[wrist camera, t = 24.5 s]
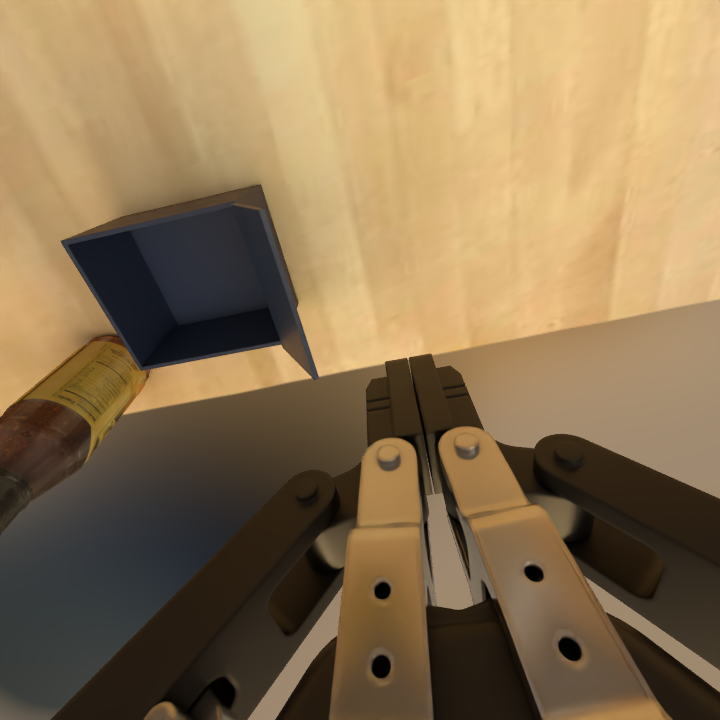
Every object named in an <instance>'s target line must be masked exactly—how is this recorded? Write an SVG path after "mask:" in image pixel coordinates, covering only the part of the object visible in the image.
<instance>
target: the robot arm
mask: <svg viewBox="0 0 720 720" xmlns="http://www.w3.org/2000/svg"><path fill="white" fill-rule="evenodd" d="M409 362H410V368H411V374H410V369H409V365H408V360H407V358H403V359H397V360H392V361H386V362H385V364H386V372H387V377H383V378H377V379H372V380H371V382H370V384H369V385H368V387H367V389H366V402H367V403H366V404H367V405H366V406H367V436H368V438H367V439H368V448H367V449H366V451H365V452H364V454H363V457H362V461H361V462H360V463H359V464H358V465H357V466H356V467H355V468H353V469H351V470H350V471H348V472H346V473H343V474H341V475H339V476H336V477H334V478H332V477H331V476H330V475H329V474H328V473H326V472H324V471H320V470H309V471H305V472H302V473H299V474H298V475H296V476H294V477H293V478H292V479H290V480H289V481H288V482H287V483H286V484H285V485H284V486H283V487H282V488H281V489H280V490H279V491H278V492H277V493H276V494H275V495H274V496H273V497H272V498H271V499H270V500H269V501H268V502H267V503H266V504H265V505H264V506H263V507H262V508H261V509H260V510H259V511H258V512H257V513H256V514H255V515H254V516H253V517H252V518H251V519H250V520H249V521H248V522H247V523H246V524H245V525H244V526H243V527H242V528H241V529H240V530H239V531H238V532H237V533H236V534H235V535H234V536H233V537H232V538H231V539H230V540H229V541H228V542H227V543H226V544H225V545H224V546H223V547H222V548H221V549H220V550H219V551H218V552H217V553H216V554H215V555H214V556H213V557H212V558H211V559H210V560H209V561H208V562H207V563H206V564H205V565H204V566H203V567H202V568H201V569H200V570H199V571H198V572H197V573H196V574H195V575H194V576H193V577H192V578H191V579H190V580H189V581H188V582H187V583H186V584H185V585H184V586H183V587H182V588H181V589H180V590H179V591H178V592H177V593H176V595H174V596H173V597H172V598H171V599H170V600H169V601H168V603H166V604H165V605H164V607H162V608H161V609H160V610H159V611H158V612H157V613H156V614H155V615H154V617H152V619H150V621H148V623H147V624H146V625H145V626H144V627H143V628H141V630H139V631H138V632H137V633H136V635H134V636H133V638H132V639H130V640H129V641H128V643H126V644H125V646H123V647H122V649H121V650H120V651H119V652H118V653H117V654H116V655H115V656H114V657H113V658H112V659H111V660H110V661H109V662H108V663H107V664H106V665H105V666H104V667H103V668H102V669H101V670H100V671H99V672H98V673H97V674H96V675H95V676H94V677H93V678H92V679H91V680H90V681H89V682H88V683H87V684H86V685H85V686H84V687H83V688H82V689H81V690H80V691H79V692H78V693H77V694H76V695H75V696H74V697H73V698H72V699H71V700H70V701H69V702H68V703H67V704H66V705H65V706H64V707H63V708H62V709H61V710H60V711H59V712H58V713H57V714H56V715H55V716H54V717H53V718H52V719H51V720H247V719H248V718H249V717H250V715H251V714H252V712H253V711H254V710H255V708H256V707H257V705H258V704H259V703H260V701H261V700H262V698H263V697H264V695H265V694H266V693H267V691H268V690H269V688H270V687H271V686H272V684H273V683H274V681H275V680H276V679H277V677H278V676H279V674H280V673H281V672H282V670H283V669H284V667H285V666H286V664H287V663H288V662H289V660H290V659H291V657H292V656H293V654H294V653H295V652H296V650H297V649H298V648H299V646H300V645H301V643H302V642H303V641H304V639H305V638H306V636H307V635H308V634H309V632H310V631H311V629H312V628H313V626H314V625H315V624H316V622H317V621H318V619H319V618H320V617H321V615H322V614H323V612H324V611H325V609H326V608H327V607H328V605H329V604H330V602H331V601H332V600H333V598H334V597H335V595H336V594H337V593H338V591H339V590H340V588H341V587H342V586H343V587H342V596H341V606H340V617H339V626H338V635H337V636H336V637H335V638H334V639H332V640H331V641H330V642H329V643H328V644H327V645H326V646H325V647H324V648H323V649H322V650H321V651H320V653H319V654H318V655H317V656H316V658H315V659H314V660H313V661H312V663H311V664H310V666H309V667H308V669H307V670H306V672H305V673H304V675H303V677H302V678H301V680H300V681H299V683H298V685H297V686H296V688H295V689H294V691H293V692H292V694H291V696H290V697H289V699H288V701H287V702H286V704H285V705H284V707H283V708H282V710H281V712H280V713H279V715H278V716H277V718H276V719H275V720H720V692H718V691H717V690H716V689H714V688H713V687H712V686H710V685H709V684H708V683H707V682H705V681H704V680H703V679H701V678H700V677H699V676H697V675H696V674H695V673H693V672H692V671H691V670H689V669H688V668H687V667H685V666H684V665H683V664H681V663H680V662H679V661H678V660H676V659H675V658H674V657H672V656H671V655H670V654H668V653H667V652H666V651H664V650H663V649H662V648H661V647H659V646H658V645H656V644H655V643H654V642H653V641H651V640H650V639H649V638H647V637H646V636H645V635H643V634H642V633H640V632H639V631H638V630H636V629H635V628H633V627H631V626H630V625H628V624H627V623H625V622H623V621H622V620H620V619H618V618H616V617H614V616H612V615H610V614H608V613H606V612H605V611H604V609H603V608H602V606H601V604H600V602H599V601H598V599H597V598H596V596H595V594H594V592H593V591H592V589H591V587H590V586H589V584H588V582H587V580H586V579H585V577H587V578H588V579H590V580H591V581H592V582H594V583H595V584H597V585H598V586H600V587H601V588H603V589H604V590H605V591H607V592H608V593H610V594H611V595H613V596H614V597H616V598H617V599H618V600H620V601H621V602H623V603H624V604H626V605H627V606H628V607H630V608H631V609H633V610H634V611H636V612H637V613H639V614H640V615H642V616H643V617H645V618H646V619H647V620H648V621H650V622H651V623H653V624H654V625H656V626H657V627H659V628H660V629H661V630H663V631H664V632H666V633H667V634H669V635H670V636H671V637H673V638H674V639H676V640H677V641H679V642H680V643H682V644H683V645H684V646H686V647H687V648H689V649H690V650H692V651H693V652H695V653H696V654H697V655H699V656H700V657H702V658H703V659H705V660H706V661H708V662H709V663H711V664H712V665H713V666H715V667H716V668H718V669H719V670H720V499H719V498H717V497H714V496H712V495H710V494H708V493H705V492H703V491H701V490H699V489H696V488H693V487H692V486H689V485H687V484H685V483H682V482H680V481H678V480H676V479H674V478H671V477H669V476H667V475H665V474H662V473H660V472H658V471H656V470H653V469H651V468H649V467H647V466H644V465H642V464H640V463H637V462H635V461H633V460H631V459H628V458H626V457H624V456H622V455H619V454H617V453H614V452H612V451H610V450H608V449H605V448H603V447H601V446H599V445H597V444H594V443H592V442H590V441H588V440H585V439H583V438H580V437H577V436H573V435H568V434H555V435H550V436H547V437H545V438H543V439H541V440H540V441H539V442H538V443H537V444H536V446H535V449H533V448H523V447H514V446H509V445H505V444H502V443H500V442H498V441H495V440H494V439H493V437H492V436H491V435H490V434H489V433H487V432H486V431H485V430H484V428H483V426H482V424H481V421H480V419H479V417H478V414H477V412H476V409H475V407H474V405H473V402H472V400H471V397H470V395H469V393H468V390H467V388H466V387H465V383H464V381H463V378H462V376H461V374H460V373H459V372H458V371H456V370H455V369H454V368H453V367H451V366H446V367H440V368H436V367H435V364H434V361H433V358H432V355H431V354H425V355H420V356H414V357H409ZM411 375H412V379H411ZM412 381H413V384H412ZM413 387H414V388H413ZM425 448H426V449H425ZM426 453H427V455H426ZM427 458H428V461H427ZM428 463H429V467H430V472H431V476H432V481H433V486H434V491H435V494H438V493H443V495H444V499H445V504H446V510H447V517H448V522H449V525H450V528H451V531H452V534H453V537H454V540H455V544H456V547H457V550H458V553H459V556H460V559H461V562H462V566H463V568H464V572H465V575H466V578H467V581H468V584H469V588H470V592H471V595H472V600H473V606H471V607H468V608H466V609H463V610H454V609H449V608H443V607H437V604H436V597H435V588H434V577H433V567H432V556H431V546H430V536H429V535H430V534H429V524H428V515H429V510H428V503H427V498H426V495H431V494H433V493H432V487H431V480H430V474H429V468H428ZM584 576H585V577H584Z"/></svg>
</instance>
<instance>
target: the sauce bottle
mask: <svg viewBox="0 0 720 720" xmlns="http://www.w3.org/2000/svg"><path fill="white" fill-rule="evenodd" d="M149 371H150V369H148V370H143V371H140V369H139V368H138V366H137V364H136V363H135V361H134V360H133V358H132V356H131V355H130V353H129V352H128V350H127V348H126V347H125V345H124V343H123V342H122V340H121V339H120V337H114V336H105V337H97V338H95V339H93V340H91V341H90V342H89V343H88V344H87V345H84V346H82V347H81V348H79V349H78V350H77V351H76V352H74V353H73V354H72V355H71V356H70V357H68V358H67V359H66V360H65V361H63V362H62V363H61V364H60V365H59V366H57V367H56V368H55V369H54V370H53V371H52V372H50V373H49V374H48V375H47V376H46V377H44V378H43V379H42V380H41V381H40V382H38V383H37V384H36V385H35V386H34V387H32V388H31V389H30V390H29V391H28V392H26V393H25V394H24V395H23V396H22V397H20V398H19V399H18V400H17V401H16V402H14V403H13V404H12V405H11V406H10V407H9V408H8V409H7V410H6V411H5V412H4V414H3V415H2V416H1V417H0V535H1V533H2V532H3V531H4V530H5V529H6V528H7V527H8V525H9V524H10V523H11V521H12V520H13V519H14V518H15V517H16V516H17V515H18V513H19V512H20V511H22V510H23V509H25V508H26V506H27V505H28V503H29V502H31V501H32V500H34V499H35V498H37V497H39V496H40V495H42V494H43V493H45V492H46V491H48V490H50V489H51V488H53V487H54V486H56V485H57V484H59V483H61V482H62V481H64V480H65V479H67V478H69V477H70V476H72V475H73V474H75V473H76V472H77V471H79V470H80V469H81V467H82V466H83V465H84V463H85V462H86V461H87V460H88V459H89V457H90V456H91V455H92V453H93V452H94V450H95V449H96V448H97V447H98V445H99V444H100V443H101V441H102V440H103V439H104V437H105V436H106V435H107V434H108V432H109V431H110V430H111V428H112V427H113V426H114V424H115V423H116V422H117V421H118V420H119V418H120V417H121V416H122V414H123V413H124V412H125V410H126V409H127V408H128V407H129V405H130V404H131V403H132V401H133V400H134V399H135V398H136V396H137V395H138V394H139V392H140V391H141V390H142V388H143V387H144V385H145V382H146V380H147V379H148V377H149Z"/></svg>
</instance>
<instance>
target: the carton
mask: <svg viewBox="0 0 720 720" xmlns="http://www.w3.org/2000/svg"><path fill="white" fill-rule="evenodd" d="M233 203H238V204H243V205H249V206H254V207H259V208H264V209H265V212H266V215H267V218H268V221H269V225H270V228H271V231H272V234H273V237H274V240H275V243H276V246H277V249H278V252H279V256H280V259H281V262H282V265H283V268H284V271H285V274H286V277H287V280H288V284H289V287H290V290H291V293H292V296H293V299H294V302H295V305H296V308H297V307H298V300H297V297H296V294H295V291H294V288H293V284H292V281H291V278H290V275H289V272H288V269H287V265H286V262H285V259H284V256H283V253H282V250H281V246H280V243H279V240H278V237H277V234H276V231H275V228H274V224H273V221H272V218H271V215H270V212H269V209H268V205H267V202H266V199H265V196H264V193H263V190H262V186H261V184H260V185H256V186H251V187H247V188H243V189H239V190H234V191H230V192H226V193H222V194H217V195H213V196H209V197H205V198H200V199H196V200H192V201H187V202H183V203H179V204H175V205H170V206H166V207H162V208H158V209H153V210H149V211H145V212H141V213H136V214H132V215H128V216H123V217H120V218H118V219H115V220H113V221H110V222H108V223H105V224H103V225H100V226H97V227H95V228H92V229H90V230H87V231H85V232H82V233H80V234H77V235H75V236H72V237H70V238H67V239H65V240H62V241H61V243H62V245H63V247H64V248H65V250H66V251H67V253H68V255H69V256H70V258H71V259H72V261H73V263H74V264H75V266H76V268H77V269H78V271H79V272H80V274H81V276H82V277H83V279H84V280H85V282H86V284H87V285H88V287H89V289H90V290H91V292H92V293H93V295H94V297H95V298H96V300H97V301H98V303H99V305H100V306H101V308H102V310H103V311H104V313H105V314H106V316H107V318H108V319H109V321H110V322H111V324H112V326H113V327H114V329H115V331H116V332H117V334H118V335H119V337H120V339H121V340H122V342H123V343H124V345H125V347H126V348H127V350H128V352H129V353H130V355H131V356H132V358H133V360H134V361H135V363H136V364H137V366H138V368H139V369H140V371H143V370H148V369H153V368H159V367H164V366H169V365H175V364H180V363H185V362H190V361H196V360H201V359H206V358H212V357H217V356H222V355H227V354H233V353H238V352H243V351H249V350H254V349H259V348H264V347H270V346H275V345H280V344H281V341H280V338H279V335H278V333H277V330H276V327H275V324H274V322H273V319H272V316H271V313H270V311H269V308H268V305H267V302H266V300H265V297H264V294H263V291H262V289H261V286H260V283H259V280H258V278H257V275H256V272H255V269H254V267H253V264H252V261H251V259H250V256H249V253H248V250H247V248H246V245H245V242H244V239H243V237H242V234H241V231H240V228H239V226H238V223H237V220H236V217H235V215H234V212H233V209H232V206H231V204H233Z"/></svg>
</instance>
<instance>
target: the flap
mask: <svg viewBox="0 0 720 720" xmlns="http://www.w3.org/2000/svg"><path fill="white" fill-rule="evenodd" d="M231 206H232V209H233V212H234V215H235V217H236V220H237V223H238V226H239V228H240V231H241V234H242V237H243V239H244V242H245V245H246V248H247V250H248V253H249V256H250V259H251V261H252V264H253V267H254V269H255V272H256V275H257V278H258V280H259V283H260V286H261V289H262V291H263V294H264V297H265V300H266V302H267V305H268V308H269V311H270V313H271V316H272V319H273V322H274V324H275V327H276V330H277V333H278V335H279V338H280V341H281V344H282V346H283V348H284V349H285V350H286V351H287V352H288V353H289V354H290V355H291V356H292V357H293V358H294V359H295V360H296V361H297V362H298V363H299V365H300V366H301V367H302V368H303V369H304V370H305V371H306V372H307V373H308V374H309V375H310V376H311V377H312V378H313V379H314V380H316V379H318V378H319V377H318V374H317V370H316V367H315V364H314V361H313V358H312V355H311V352H310V349H309V346H308V342H307V339H306V336H305V333H304V330H303V327H302V324H301V321H300V318H299V315H298V311H297V308H296V305H295V302H294V299H293V296H292V293H291V290H290V287H289V284H288V280H287V277H286V274H285V271H284V268H283V265H282V262H281V259H280V256H279V252H278V249H277V246H276V243H275V240H274V237H273V234H272V231H271V228H270V225H269V221H268V218H267V215H266V212H265V209H264V208H259V207H254V206H249V205H243V204H238V203H233V204H231Z"/></svg>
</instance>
